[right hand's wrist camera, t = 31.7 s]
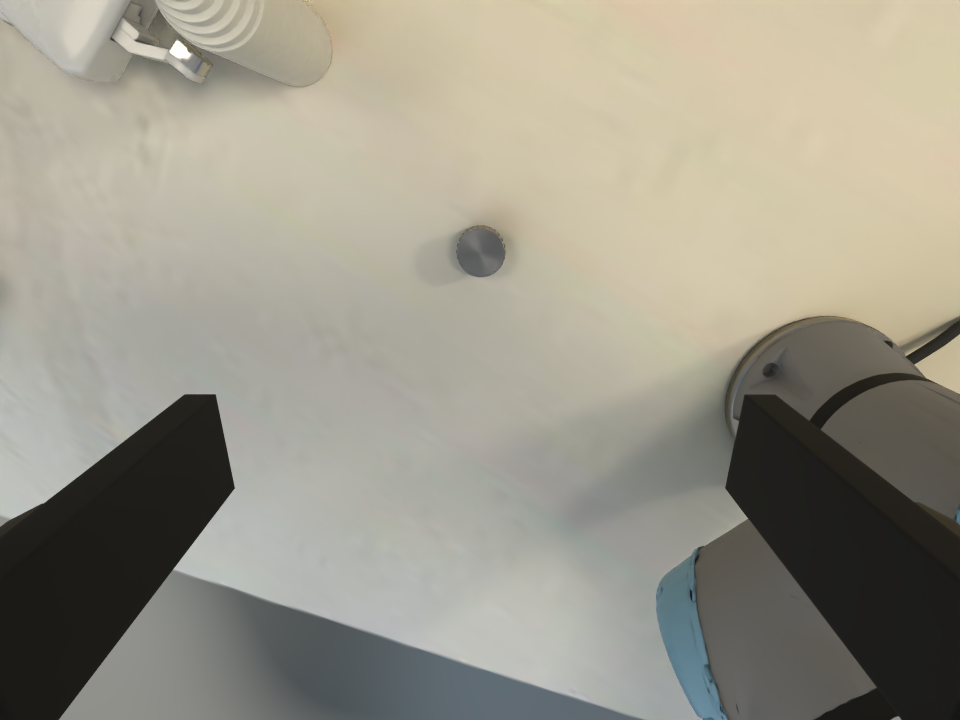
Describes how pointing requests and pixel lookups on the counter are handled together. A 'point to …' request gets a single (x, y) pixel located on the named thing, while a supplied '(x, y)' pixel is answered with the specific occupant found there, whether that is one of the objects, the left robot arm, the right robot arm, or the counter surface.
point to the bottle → (257, 35)
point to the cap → (480, 251)
